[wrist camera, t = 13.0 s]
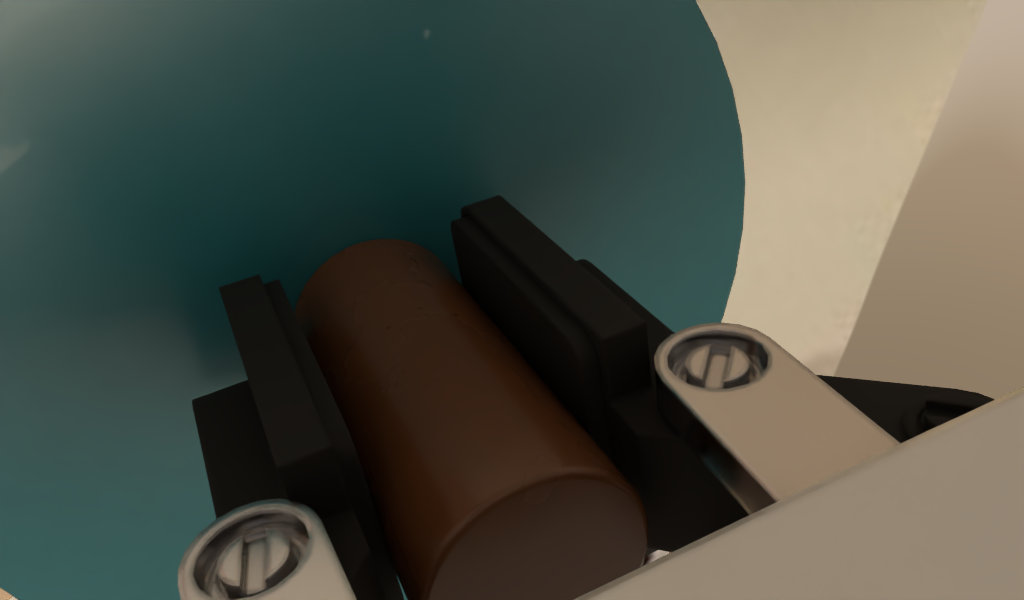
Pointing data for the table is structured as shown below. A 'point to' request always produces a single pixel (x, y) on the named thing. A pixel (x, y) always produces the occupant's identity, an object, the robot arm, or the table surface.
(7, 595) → the toy figure
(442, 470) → the lid
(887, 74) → the table surface
